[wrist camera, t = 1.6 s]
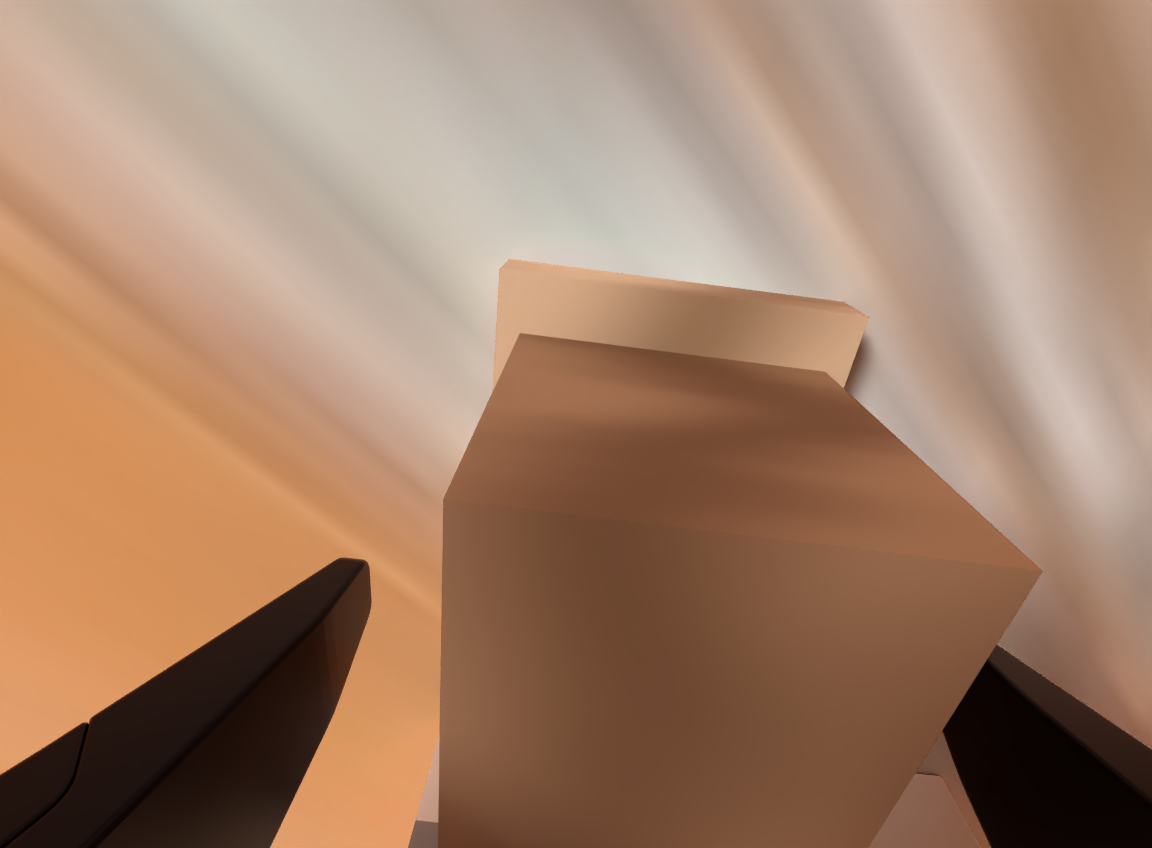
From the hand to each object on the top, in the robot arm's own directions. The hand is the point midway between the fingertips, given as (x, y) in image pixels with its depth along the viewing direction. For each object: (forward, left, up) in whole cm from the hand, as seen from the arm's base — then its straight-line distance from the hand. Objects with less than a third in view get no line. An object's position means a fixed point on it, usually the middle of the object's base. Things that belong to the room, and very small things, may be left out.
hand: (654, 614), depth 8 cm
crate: (0, 0, -4) cm, 4 cm away
